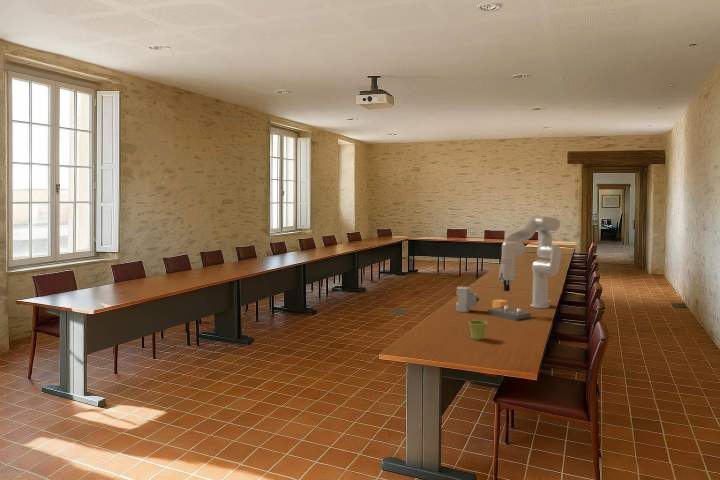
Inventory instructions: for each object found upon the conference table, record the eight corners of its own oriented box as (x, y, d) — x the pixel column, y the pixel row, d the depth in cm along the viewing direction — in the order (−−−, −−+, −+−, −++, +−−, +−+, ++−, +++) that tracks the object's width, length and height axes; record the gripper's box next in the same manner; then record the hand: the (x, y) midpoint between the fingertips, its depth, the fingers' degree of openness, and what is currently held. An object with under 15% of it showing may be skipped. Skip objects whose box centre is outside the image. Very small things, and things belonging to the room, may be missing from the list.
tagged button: (505, 310, 348) (506, 305, 347) (508, 311, 346) (509, 306, 345) (503, 311, 346) (503, 306, 346) (506, 312, 344) (506, 306, 344)
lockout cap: (499, 307, 367) (499, 299, 366) (507, 309, 361) (507, 300, 360) (492, 308, 363) (492, 300, 362) (500, 310, 357) (500, 302, 356)
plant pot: (466, 339, 284) (466, 323, 283) (470, 335, 293) (470, 319, 292) (484, 341, 280) (485, 325, 280) (488, 337, 289) (488, 321, 288)
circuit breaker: (478, 312, 350) (479, 289, 348) (456, 311, 352) (456, 288, 351) (478, 310, 357) (479, 287, 356) (456, 309, 360) (456, 286, 358)
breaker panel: (502, 311, 355) (503, 306, 354) (530, 317, 336) (530, 312, 336) (487, 313, 347) (487, 308, 346) (515, 320, 329) (515, 315, 328)
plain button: (518, 313, 339) (518, 308, 339) (521, 314, 337) (521, 309, 337) (515, 314, 338) (516, 308, 338) (519, 315, 336) (519, 309, 336)
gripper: (510, 260, 350) (509, 289, 352) (494, 262, 342) (493, 291, 344) (520, 262, 344) (519, 290, 346) (504, 263, 336) (503, 292, 337)
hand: (506, 290), depth 345 cm, fingers closed
